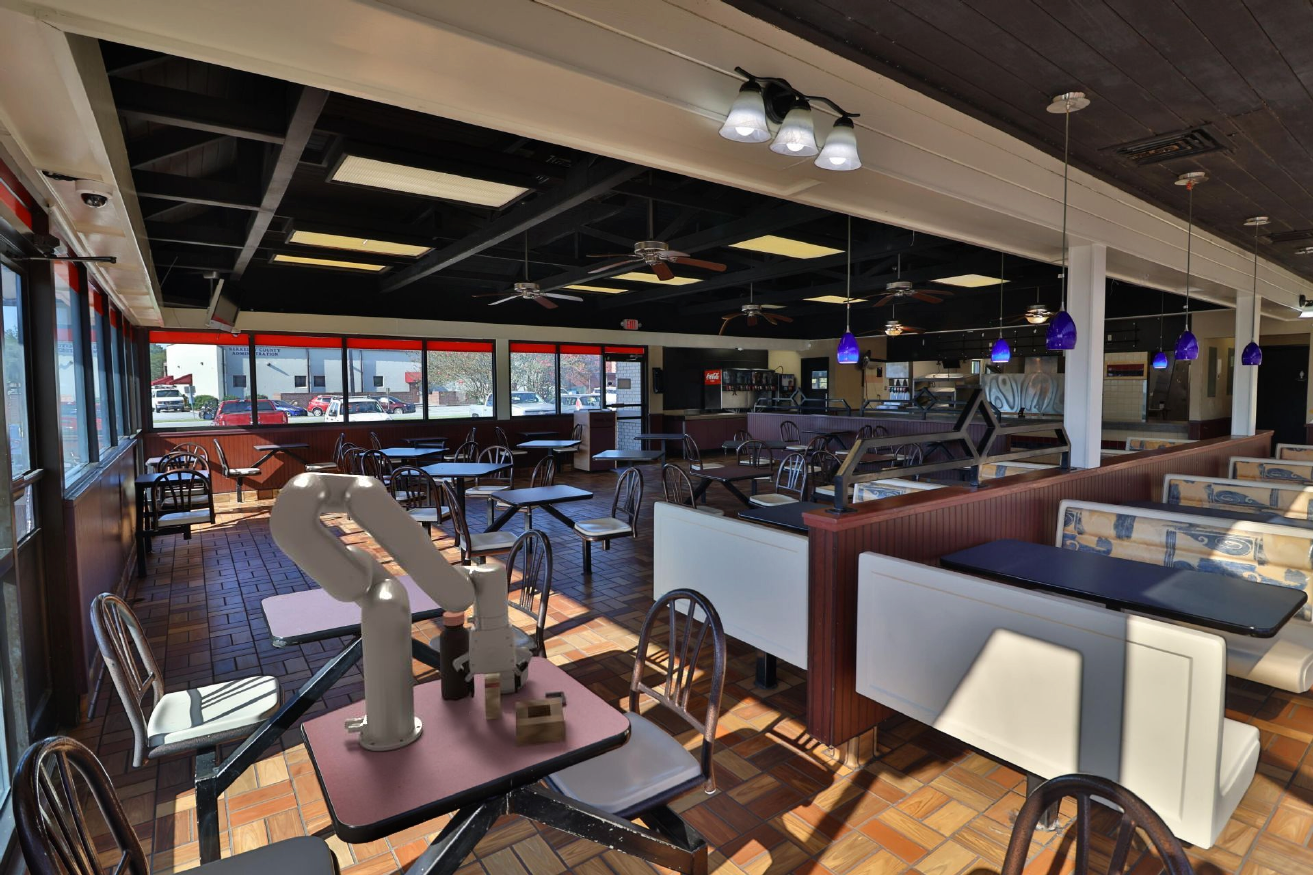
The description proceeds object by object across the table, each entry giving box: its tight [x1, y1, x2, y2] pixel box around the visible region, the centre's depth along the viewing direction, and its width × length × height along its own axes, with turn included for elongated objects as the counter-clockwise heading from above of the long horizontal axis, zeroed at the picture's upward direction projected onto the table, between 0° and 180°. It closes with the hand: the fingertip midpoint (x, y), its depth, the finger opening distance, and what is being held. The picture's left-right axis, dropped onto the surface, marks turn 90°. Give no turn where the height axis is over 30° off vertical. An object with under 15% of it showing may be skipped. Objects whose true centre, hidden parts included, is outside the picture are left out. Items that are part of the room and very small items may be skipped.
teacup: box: [487, 646, 530, 695], centre depth 163 cm, size 14×11×8 cm
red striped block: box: [484, 673, 502, 720], centre depth 149 cm, size 3×3×9 cm
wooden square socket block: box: [514, 697, 566, 747], centre depth 142 cm, size 10×10×4 cm
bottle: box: [438, 611, 470, 701], centre depth 158 cm, size 7×7×20 cm
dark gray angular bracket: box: [545, 691, 566, 707], centre depth 155 cm, size 8×6×1 cm
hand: (494, 692), depth 149 cm, fingers open, 9 cm apart
